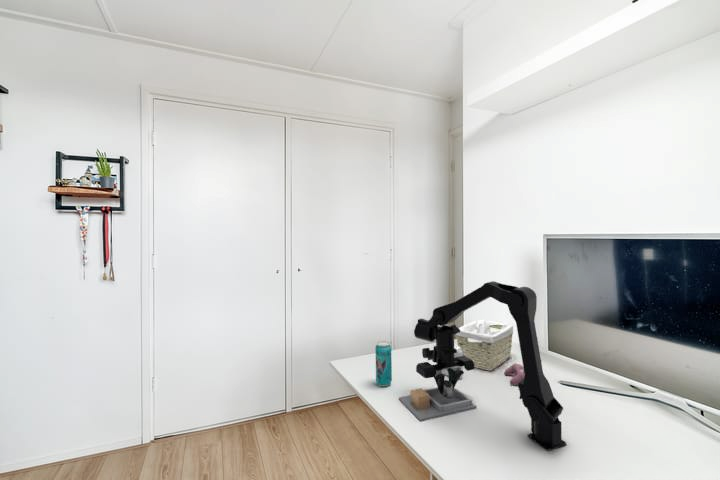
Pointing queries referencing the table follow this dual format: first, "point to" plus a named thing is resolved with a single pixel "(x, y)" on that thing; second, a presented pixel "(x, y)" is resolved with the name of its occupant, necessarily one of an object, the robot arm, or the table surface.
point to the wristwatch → (447, 389)
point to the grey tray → (435, 403)
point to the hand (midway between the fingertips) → (445, 392)
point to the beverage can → (383, 363)
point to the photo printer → (459, 353)
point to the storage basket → (485, 343)
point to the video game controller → (515, 373)
